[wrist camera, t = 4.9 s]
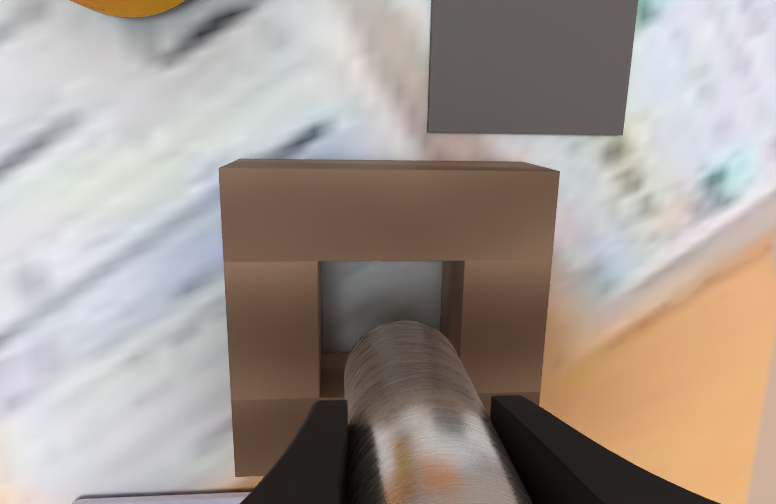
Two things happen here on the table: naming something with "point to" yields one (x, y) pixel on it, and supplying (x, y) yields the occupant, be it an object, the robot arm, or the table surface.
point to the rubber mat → (530, 66)
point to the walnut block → (377, 243)
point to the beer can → (129, 6)
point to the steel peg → (420, 425)
